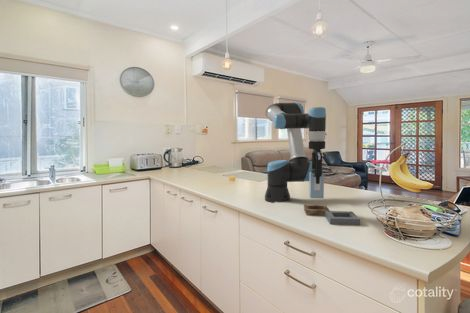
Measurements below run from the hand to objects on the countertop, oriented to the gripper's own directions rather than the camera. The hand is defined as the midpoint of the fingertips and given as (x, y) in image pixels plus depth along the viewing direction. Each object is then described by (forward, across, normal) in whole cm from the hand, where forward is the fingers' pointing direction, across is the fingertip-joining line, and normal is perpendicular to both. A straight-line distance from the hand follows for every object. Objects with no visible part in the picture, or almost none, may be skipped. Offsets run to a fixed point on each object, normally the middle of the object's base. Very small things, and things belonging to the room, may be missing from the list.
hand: (316, 188), depth 118 cm
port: (+12, -10, -9) cm, 18 cm away
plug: (+4, 0, 0) cm, 4 cm away
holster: (+12, 0, 0) cm, 12 cm away
